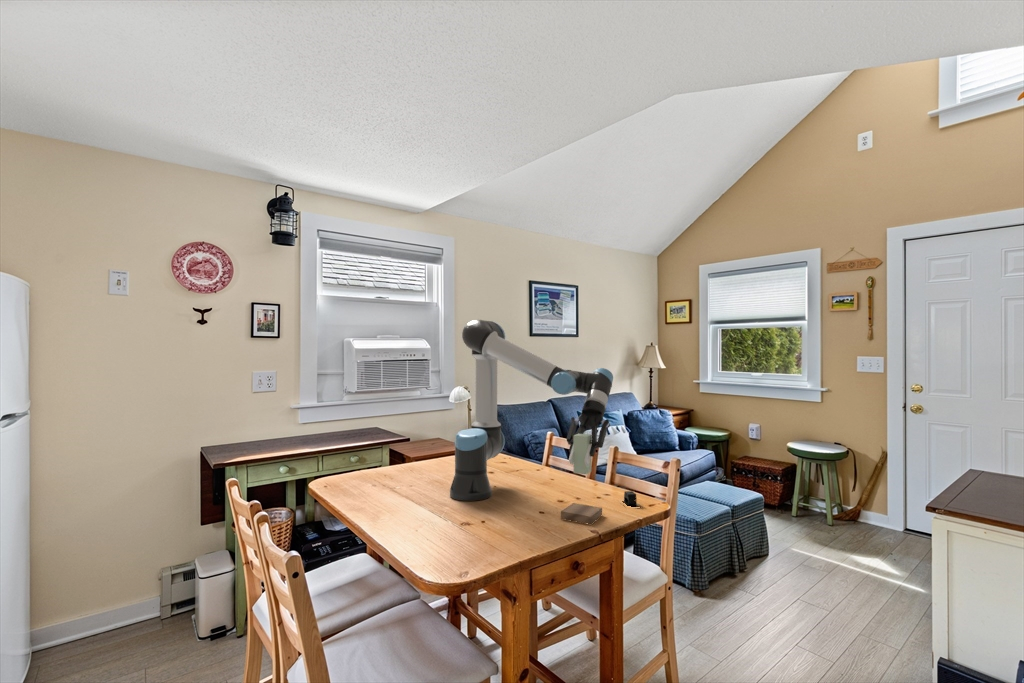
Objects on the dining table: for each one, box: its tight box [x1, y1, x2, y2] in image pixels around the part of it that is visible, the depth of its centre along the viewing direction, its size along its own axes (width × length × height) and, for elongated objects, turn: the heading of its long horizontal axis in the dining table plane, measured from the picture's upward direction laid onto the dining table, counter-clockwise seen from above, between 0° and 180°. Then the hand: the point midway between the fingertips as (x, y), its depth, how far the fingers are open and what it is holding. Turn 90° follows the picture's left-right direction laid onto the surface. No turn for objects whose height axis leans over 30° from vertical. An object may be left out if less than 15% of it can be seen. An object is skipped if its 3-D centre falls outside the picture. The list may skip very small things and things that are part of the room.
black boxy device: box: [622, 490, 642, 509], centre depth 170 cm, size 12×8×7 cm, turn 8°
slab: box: [560, 502, 603, 525], centre depth 156 cm, size 10×10×3 cm
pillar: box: [573, 433, 592, 475], centre depth 160 cm, size 4×4×12 cm
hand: (578, 462), depth 156 cm, fingers closed on pillar, 5 cm apart
